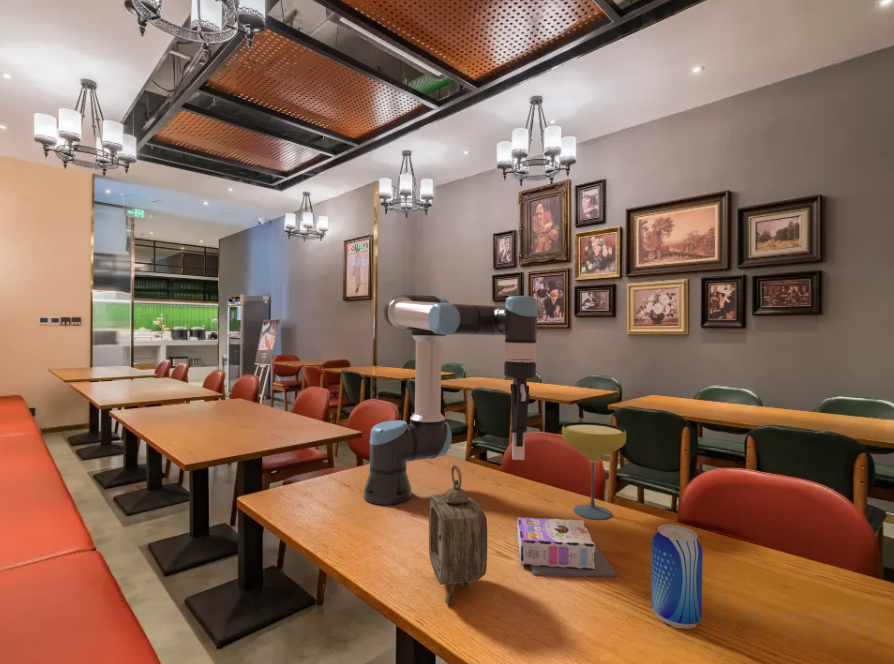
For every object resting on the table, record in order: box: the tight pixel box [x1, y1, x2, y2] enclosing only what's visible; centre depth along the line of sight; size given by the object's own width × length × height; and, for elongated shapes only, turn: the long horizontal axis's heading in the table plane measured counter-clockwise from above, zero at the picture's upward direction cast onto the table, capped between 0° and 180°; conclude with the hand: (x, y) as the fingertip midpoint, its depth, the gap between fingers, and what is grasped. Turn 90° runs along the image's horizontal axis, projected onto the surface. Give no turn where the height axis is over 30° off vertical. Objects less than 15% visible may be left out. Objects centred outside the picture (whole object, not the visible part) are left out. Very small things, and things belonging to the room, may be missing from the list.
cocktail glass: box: [561, 421, 627, 520], centre depth 135 cm, size 18×18×25 cm
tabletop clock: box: [428, 464, 488, 606], centre depth 94 cm, size 14×9×25 cm, turn 13°
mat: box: [529, 540, 617, 578], centre depth 109 cm, size 20×18×1 cm
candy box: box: [517, 516, 596, 570], centre depth 108 cm, size 14×6×16 cm
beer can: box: [650, 524, 704, 629], centre depth 85 cm, size 8×8×16 cm
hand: (518, 458), depth 110 cm, fingers closed
